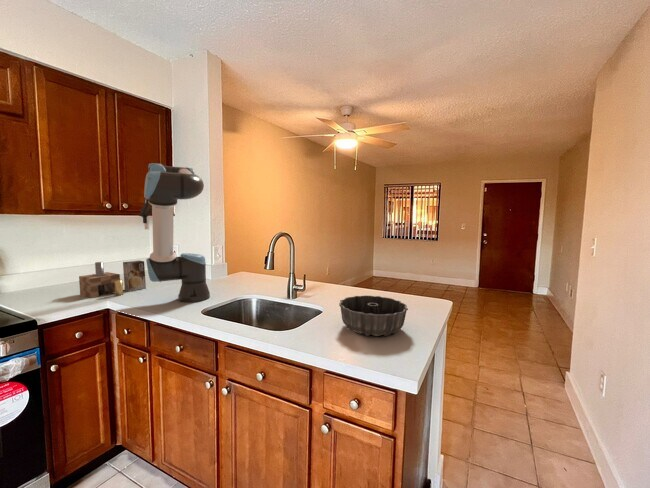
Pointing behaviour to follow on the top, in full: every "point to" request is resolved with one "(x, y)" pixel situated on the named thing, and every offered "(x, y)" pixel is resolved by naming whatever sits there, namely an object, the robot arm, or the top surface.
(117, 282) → the short brass pin
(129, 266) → the coffee box
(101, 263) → the tall steel pin
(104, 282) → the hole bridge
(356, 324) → the bundt pan
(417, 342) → the top surface
